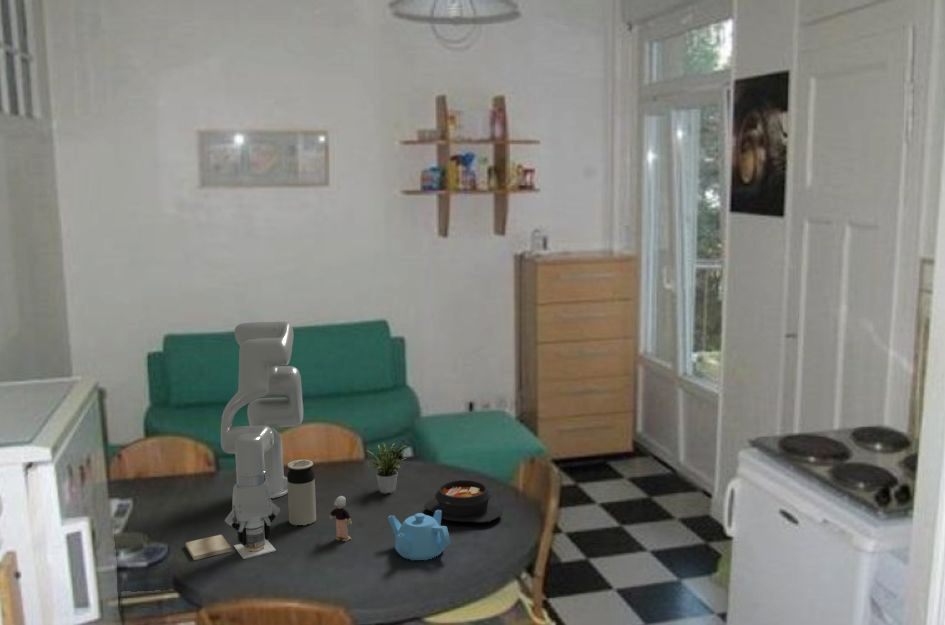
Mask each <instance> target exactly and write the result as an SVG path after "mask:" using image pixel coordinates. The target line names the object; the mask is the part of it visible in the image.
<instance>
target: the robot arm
mask: <svg viewBox="0 0 945 625" xmlns="http://www.w3.org/2000/svg"><path fill="white" fill-rule="evenodd" d="M294 337H295V334H294V329H293V325H292V324H291V323H289V322H287V321H257V322H256V321H254V322H251V321H250V322H242V323H239V324H237V325H236V326H235V328H234V338H235V341H236V343H237V344H238V345H239V354H238V355H239V356H238V389H237V392H236V393H235V394H234V395H233V397H232V398H231V399H229V401H228V402H227V404H226V406H225V407H224V410H223V412H222V416H221V419H220V420H221V422H220V424H221V426H220V446H221V449H222V451H223V452H224V453H226V454H228V455H230V454H231V455H233V454H234V455H235V456H234V457H235V471H236V483H235V484H234V485H233V487H232V488H233V490H232V498H231V499H232V500H231V502H232V506H231V508H232V510H231V511H230V513H229V514H228V515H227V516H226V517H225V519H224V522H225V523H226V524H227V525H229V526H231V527H232V528H234V530H236V531H237V540H238V543H240V544H242V545H243V546H244V545H246V538H245V531H244V525H245V522H246V521H249V520H251V518H252V517H255V516H260V518H261V519H262V520H263V521H264V529H265V539H266V540H268V541H269V540H270V539H269V536H271V525H272V522H273V521H274V520H275V519H276V516H278V515H279V513H280V512H281V508H280V507H279V506H277V505H276V504H275V503H273V501H272V499H276V498H280V497H283V496H285V495H286V494H287V495H288V485H287V476H285V474H284V471H285V470H284V458H283V457H284V456H283V455H284V454H283V452H284V450H283V439H282V436H281V434H280V433H279V432H278V430H276V429H275V428H287V427H288V428H289V427H297V426H299V425H301V424H302V422H303V419H304V403H303V387H302V376H301V373H300V371H299V369H298V368H297V367H295V366H292V365H289V363H290V361H291V358H292V354H293V351H292V350H293V344H294ZM246 405H247V411H246V412H247V419H248V423H249V425H244V426H243V425H242V426H241V425H240V426H232V425H233V421H234V417H235V415H236V413H237V412H238V411H239V410H241V408H243V407H245V406H246ZM271 498H272V499H271ZM234 518H236V522H235V521H234Z"/></svg>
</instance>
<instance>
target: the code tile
mask: <svg viewBox="0 0 945 625" xmlns="http://www.w3.org/2000/svg"><path fill="white" fill-rule="evenodd" d="M233 547H234V548H235V550H236V551H237V552H238V554H239V555H240V556H241V558H242V559H243V560H244V559H245V560H246V559H250V558H253V557H258V556H261V555H267V554H270V553H274V552H276V551H277V550H276V548H275V547H274V546H273V545H272V543H271V542H270V541H269V540H266V539H265V546H264V548H262V549H261V550H258V551H248V550H246V549H245V548H244V546H243V545H242V544H241V543H239V544H238V543H237V544H235V545H233Z"/></svg>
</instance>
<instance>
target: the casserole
mask: <svg viewBox="0 0 945 625" xmlns="http://www.w3.org/2000/svg"><path fill="white" fill-rule="evenodd" d="M490 498H492V493H491V492H490V491H489V488H488V486H487V485H485V484H484V483H482V482H480V481H475V480H469V479H468V480H467V479H464V480H463V479H460V480H452V481H448V482H447V481H446V482H445V483H442V484H441V485H440V486H439V487H438V489H437V492H436V493H435V495H434V497H433V498H432V499H430V500H428V501H427V502H425V504H424V508H425V509H426V510H428V511H430V512H432V513H433V515H434V514H435V511H437V510H441V511H442V515H441V519H443V520H446V521H451V522H458V521H459V522H462V523H463V522H464V523H465V522H466V523H467V522H468V523H470V522H471V523H478V524H481V523H483V524H485V523H489V522H491V521H495V520H496V519H498V518H500V517H501V516H502V515H503V510H502V508H500V507H499V506H496V505H494V504H493V503H491V502H489V500H490Z"/></svg>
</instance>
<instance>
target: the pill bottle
mask: <svg viewBox="0 0 945 625" xmlns="http://www.w3.org/2000/svg"><path fill="white" fill-rule="evenodd" d="M244 531H245V538H246V545H244V548H245V549H246V550H248V551H258V550H261V549H262V548H264V546H265V529H264V520H263V518H260V516H255V517H252V518H251V520H249V521H246V522H245V525H244Z"/></svg>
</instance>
